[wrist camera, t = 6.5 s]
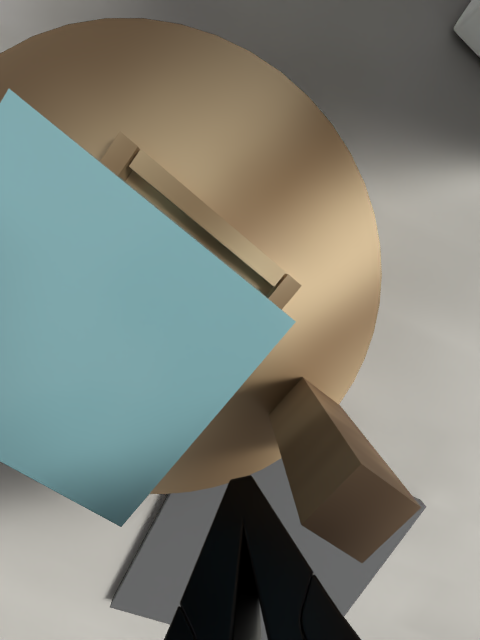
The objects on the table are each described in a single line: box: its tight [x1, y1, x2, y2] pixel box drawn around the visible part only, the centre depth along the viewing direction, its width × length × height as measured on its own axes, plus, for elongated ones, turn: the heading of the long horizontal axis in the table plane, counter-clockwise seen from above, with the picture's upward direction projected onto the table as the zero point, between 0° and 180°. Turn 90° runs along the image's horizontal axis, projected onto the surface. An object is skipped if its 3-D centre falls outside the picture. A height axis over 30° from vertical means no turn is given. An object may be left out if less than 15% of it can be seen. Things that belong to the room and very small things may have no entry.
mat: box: [110, 458, 426, 640], centre depth 14 cm, size 12×12×1 cm
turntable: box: [0, 18, 421, 563], centre depth 8 cm, size 16×16×5 cm
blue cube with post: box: [0, 89, 296, 527], centre depth 7 cm, size 8×5×5 cm, turn 51°
